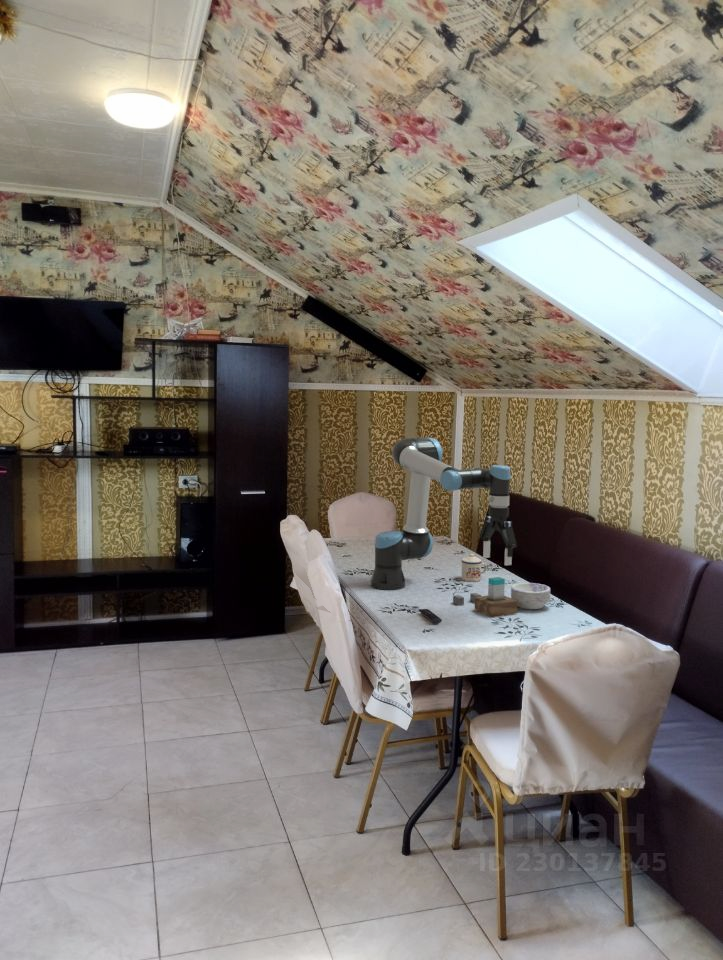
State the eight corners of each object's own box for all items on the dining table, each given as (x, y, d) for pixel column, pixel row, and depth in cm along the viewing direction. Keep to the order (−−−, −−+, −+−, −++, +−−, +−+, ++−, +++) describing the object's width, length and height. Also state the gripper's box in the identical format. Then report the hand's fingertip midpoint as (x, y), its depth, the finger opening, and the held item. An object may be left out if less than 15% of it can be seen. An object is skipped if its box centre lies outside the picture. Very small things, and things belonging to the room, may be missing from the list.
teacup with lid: (465, 582, 336) (466, 556, 335) (457, 577, 345) (458, 552, 343) (490, 581, 339) (491, 555, 338) (482, 576, 348) (482, 551, 347)
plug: (487, 608, 292) (488, 578, 290) (498, 607, 294) (499, 576, 292) (493, 611, 289) (494, 580, 287) (503, 609, 291) (504, 578, 289)
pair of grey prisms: (452, 603, 303) (453, 595, 302) (475, 600, 307) (475, 592, 307) (458, 605, 299) (458, 598, 299) (481, 602, 304) (481, 595, 304)
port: (474, 609, 294) (474, 597, 293) (499, 606, 299) (500, 593, 298) (491, 617, 284) (491, 604, 283) (517, 613, 289) (517, 600, 288)
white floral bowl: (503, 606, 298) (503, 587, 297) (522, 599, 310) (523, 580, 309) (538, 614, 288) (538, 594, 287) (556, 606, 300) (557, 586, 299)
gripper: (471, 502, 296) (470, 555, 299) (511, 511, 274) (509, 569, 276) (487, 501, 299) (485, 553, 302) (527, 510, 277) (525, 567, 280)
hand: (496, 561), depth 289 cm, fingers open, 13 cm apart
